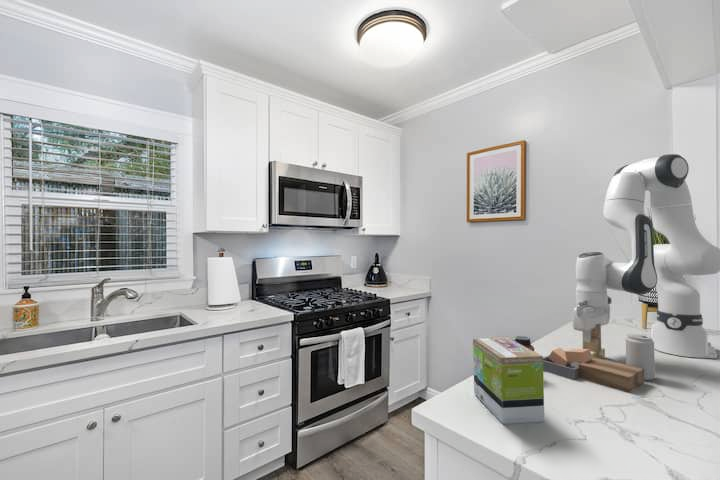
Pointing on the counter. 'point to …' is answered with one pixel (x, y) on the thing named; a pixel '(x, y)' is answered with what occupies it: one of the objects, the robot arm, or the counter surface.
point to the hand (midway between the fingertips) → (591, 340)
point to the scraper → (595, 343)
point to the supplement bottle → (524, 342)
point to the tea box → (509, 380)
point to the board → (612, 374)
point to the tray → (561, 369)
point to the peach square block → (559, 357)
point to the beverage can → (641, 354)
